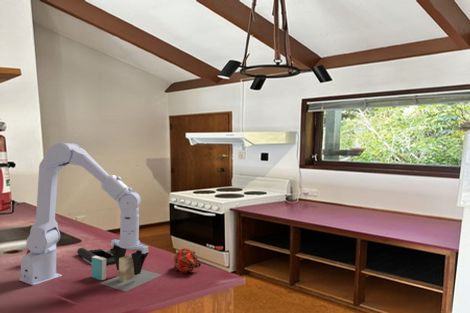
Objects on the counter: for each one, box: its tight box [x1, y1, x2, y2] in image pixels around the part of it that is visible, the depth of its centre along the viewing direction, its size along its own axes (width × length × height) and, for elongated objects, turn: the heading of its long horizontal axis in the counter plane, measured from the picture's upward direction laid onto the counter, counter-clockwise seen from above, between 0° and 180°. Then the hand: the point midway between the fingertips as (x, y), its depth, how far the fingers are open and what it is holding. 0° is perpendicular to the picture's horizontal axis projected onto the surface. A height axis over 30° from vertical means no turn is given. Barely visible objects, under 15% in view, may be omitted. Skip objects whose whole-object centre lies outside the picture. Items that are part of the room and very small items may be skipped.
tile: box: [91, 256, 107, 281], centre depth 114 cm, size 2×5×7 cm, turn 61°
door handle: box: [76, 247, 116, 266], centre depth 135 cm, size 3×20×16 cm
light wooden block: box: [118, 253, 138, 282], centre depth 114 cm, size 6×2×7 cm, turn 151°
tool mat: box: [99, 268, 162, 293], centre depth 114 cm, size 16×11×1 cm
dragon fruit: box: [173, 247, 202, 275], centre depth 123 cm, size 8×8×12 cm
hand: (128, 271), depth 115 cm, fingers open, 7 cm apart
